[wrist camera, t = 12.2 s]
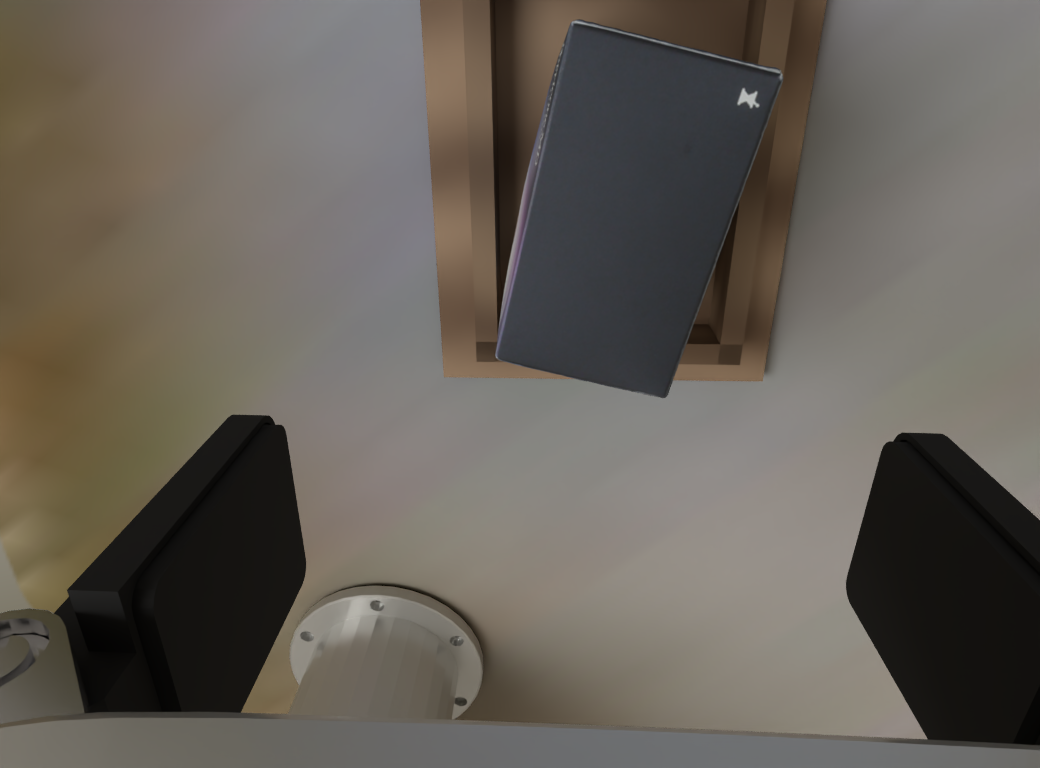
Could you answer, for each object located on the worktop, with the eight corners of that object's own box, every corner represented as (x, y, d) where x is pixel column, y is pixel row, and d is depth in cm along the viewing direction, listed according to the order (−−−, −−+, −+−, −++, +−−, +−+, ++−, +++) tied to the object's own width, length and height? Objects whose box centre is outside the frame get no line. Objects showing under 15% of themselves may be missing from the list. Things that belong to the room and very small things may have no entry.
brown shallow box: (757, 372, 34) (777, 404, 31) (447, 369, 35) (436, 399, 32) (834, -103, 26) (874, -125, 22) (418, -95, 26) (400, -116, 23)
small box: (560, 23, 27) (563, 4, 17) (715, 62, 27) (800, 64, 18) (506, 272, 32) (485, 363, 22) (639, 302, 32) (675, 405, 22)
